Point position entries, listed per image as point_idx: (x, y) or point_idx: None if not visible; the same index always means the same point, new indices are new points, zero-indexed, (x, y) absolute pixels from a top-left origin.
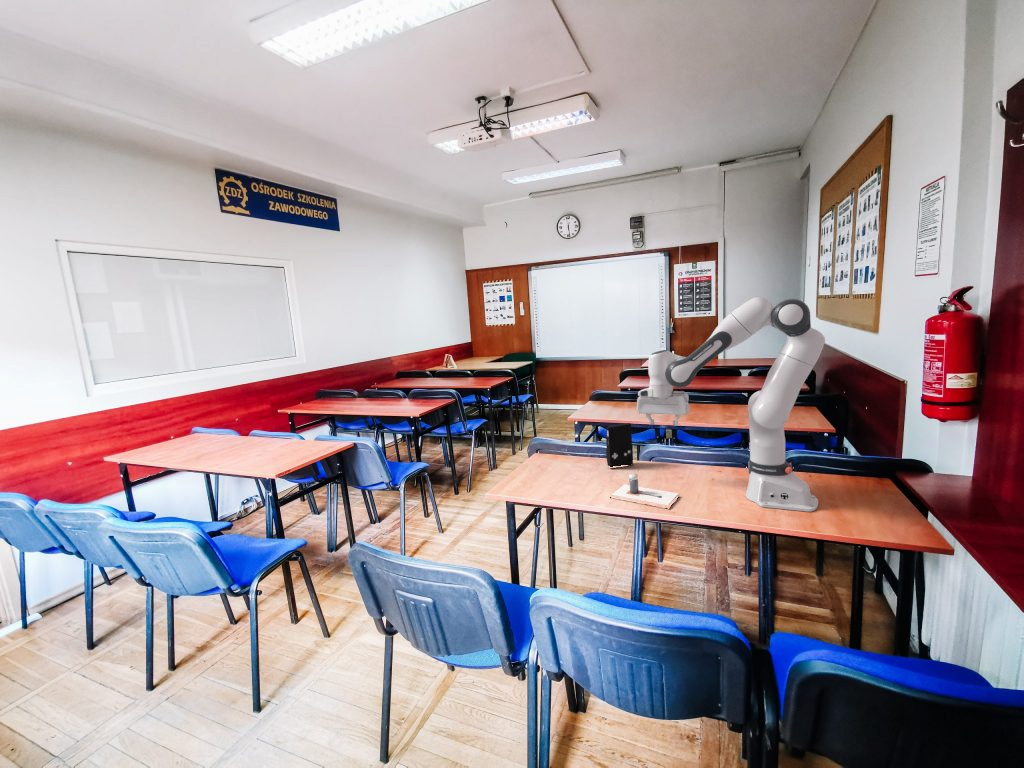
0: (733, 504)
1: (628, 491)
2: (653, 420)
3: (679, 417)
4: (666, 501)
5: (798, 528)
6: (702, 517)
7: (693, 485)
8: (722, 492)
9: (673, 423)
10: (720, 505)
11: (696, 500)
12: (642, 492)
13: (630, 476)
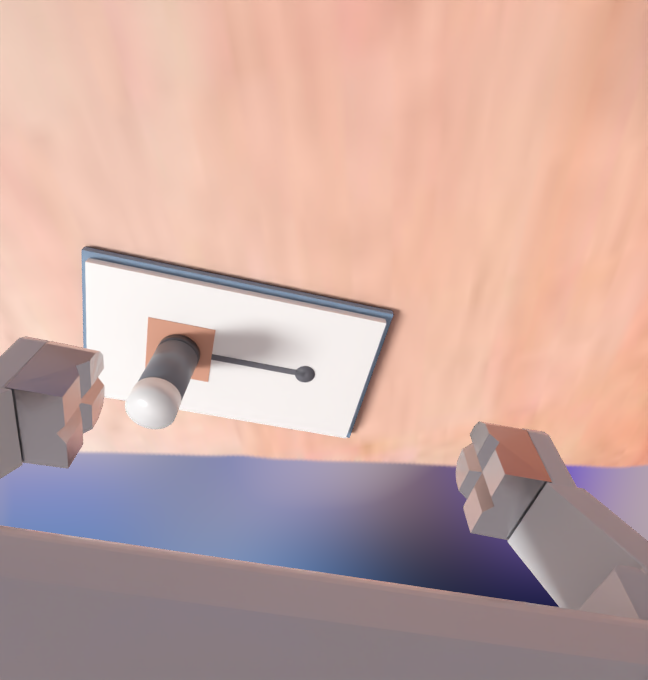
0: (613, 341)
1: (147, 347)
2: (68, 416)
3: (646, 563)
4: (337, 407)
5: None
6: None
7: (473, 138)
8: (611, 214)
9: (472, 501)
10: (555, 360)
11: (463, 334)
12: (216, 344)
13: (142, 425)
